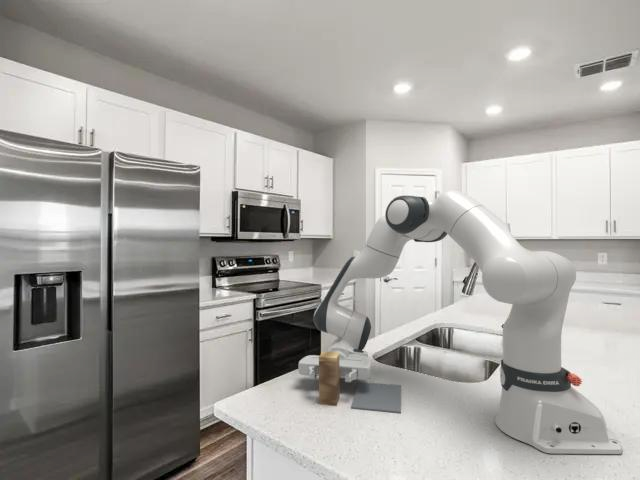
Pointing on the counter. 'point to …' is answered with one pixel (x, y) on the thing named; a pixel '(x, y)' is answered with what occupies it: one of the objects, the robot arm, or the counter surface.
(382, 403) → the mat
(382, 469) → the counter surface
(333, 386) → the block
